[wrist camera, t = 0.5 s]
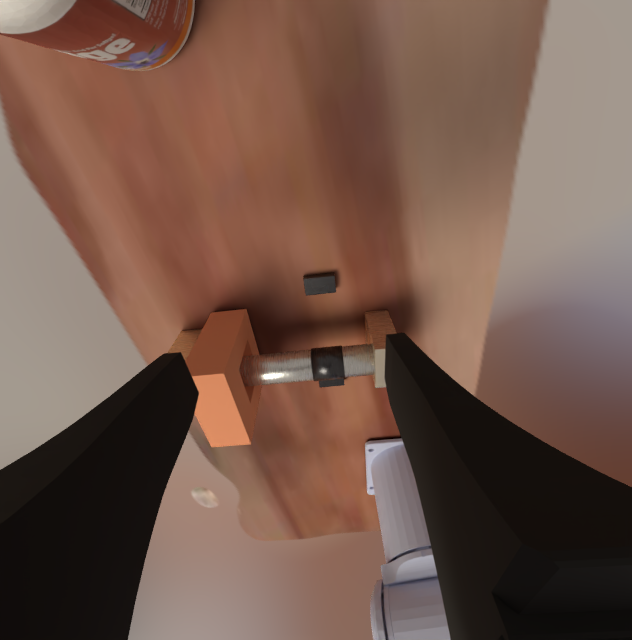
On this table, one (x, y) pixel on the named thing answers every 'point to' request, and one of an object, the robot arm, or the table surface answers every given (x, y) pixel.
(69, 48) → the pill bottle
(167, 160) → the table surface
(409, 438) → the robot arm
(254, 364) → the pipe rail
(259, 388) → the upright terracotta block
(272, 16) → the table surface
